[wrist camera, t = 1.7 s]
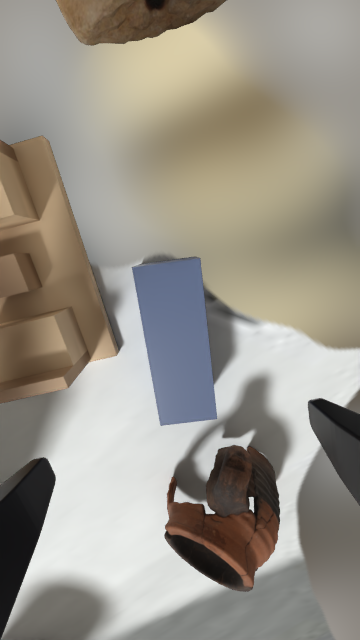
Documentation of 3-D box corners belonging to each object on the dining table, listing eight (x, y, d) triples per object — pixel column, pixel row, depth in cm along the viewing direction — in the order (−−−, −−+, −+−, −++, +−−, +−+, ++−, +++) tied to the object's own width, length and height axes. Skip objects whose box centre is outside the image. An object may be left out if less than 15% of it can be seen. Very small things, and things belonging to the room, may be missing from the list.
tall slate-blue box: (209, 388, 21) (217, 418, 17) (163, 394, 21) (160, 425, 17) (195, 256, 18) (200, 258, 14) (141, 263, 18) (132, 267, 14)
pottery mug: (277, 503, 25) (263, 618, 19) (191, 466, 29) (156, 550, 23) (298, 428, 19) (287, 559, 13) (186, 393, 23) (135, 481, 17)
